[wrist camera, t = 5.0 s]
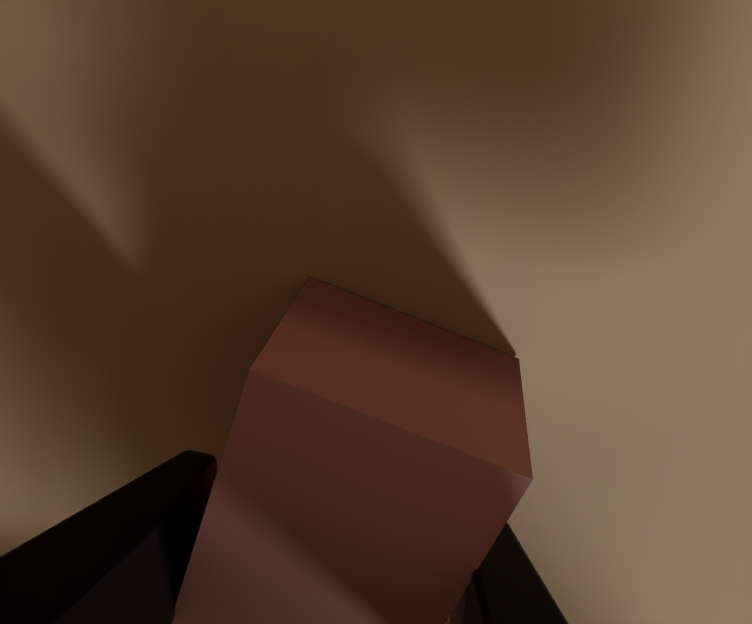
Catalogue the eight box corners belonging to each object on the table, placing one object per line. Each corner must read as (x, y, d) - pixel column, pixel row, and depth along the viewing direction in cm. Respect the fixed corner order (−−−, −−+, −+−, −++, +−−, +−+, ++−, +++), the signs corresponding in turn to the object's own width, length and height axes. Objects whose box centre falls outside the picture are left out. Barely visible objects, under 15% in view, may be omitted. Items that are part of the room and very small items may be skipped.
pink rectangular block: (309, 276, 9) (249, 368, 6) (518, 358, 9) (532, 478, 6) (222, 534, 11) (154, 671, 9) (389, 599, 11) (366, 751, 9)
